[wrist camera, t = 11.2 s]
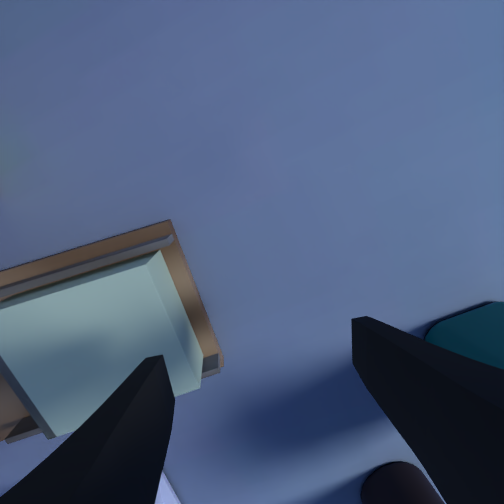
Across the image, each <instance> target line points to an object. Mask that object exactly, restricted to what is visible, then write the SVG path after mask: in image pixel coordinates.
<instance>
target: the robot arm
mask: <svg viewBox="0 0 504 504" xmlns="http://www.w3.org/2000/svg"><path fill="white" fill-rule="evenodd" d="M351 320H352V361H353V365H354V367H355V369H356V370H357V372H358V374H359V376H360V378H361V379H362V381H363V383H364V384H365V386H366V388H367V389H368V391H369V392H370V394H371V395H372V396H373V398H374V399H375V400H376V402H377V403H378V405H379V406H380V407H381V409H382V410H383V411H384V413H385V414H386V415H387V417H388V418H389V420H390V421H391V422H392V424H393V425H394V426H395V428H396V429H397V430H398V432H399V433H400V434H401V436H402V437H403V439H404V440H405V441H406V443H407V444H408V445H409V447H410V448H411V449H412V451H413V452H414V454H415V455H416V456H417V458H418V459H419V461H420V462H421V464H422V465H423V467H424V468H425V470H426V471H427V473H428V475H429V476H430V478H431V479H432V481H433V483H434V484H435V486H436V487H437V489H438V491H439V492H440V494H441V495H442V497H443V499H444V500H445V502H446V503H447V504H504V370H503V369H500V368H497V367H494V366H491V365H488V364H485V363H482V362H479V361H476V360H473V359H471V358H468V357H465V356H463V355H460V354H457V353H455V352H452V351H449V350H447V349H444V348H442V347H439V346H437V345H434V344H432V343H429V342H427V341H425V340H422V339H420V338H417V337H415V336H413V335H411V334H408V333H406V332H404V331H401V330H399V329H397V328H394V327H392V326H390V325H388V324H385V323H383V322H381V321H378V320H376V319H373V318H371V317H368V316H364V317H359V318H353V319H351ZM174 405H175V397H174V393H173V390H172V386H171V382H170V379H169V375H168V371H167V367H166V364H165V360H164V356H163V354H162V355H157V356H152V357H146V358H145V359H144V360H143V361H142V362H141V363H140V364H139V365H138V366H137V367H136V368H135V369H134V371H133V372H132V373H131V374H130V375H129V376H128V377H127V378H126V379H125V380H124V381H123V382H122V384H121V385H120V386H119V387H118V388H117V389H116V390H115V391H114V392H113V393H112V394H111V395H110V396H109V397H108V399H107V400H106V401H105V402H104V403H103V404H102V405H101V406H100V407H99V408H98V409H97V410H96V411H95V412H94V413H93V414H92V415H91V416H90V417H89V418H88V419H87V420H86V421H85V422H84V423H83V424H82V425H81V426H80V427H79V428H78V429H77V430H76V431H75V432H74V433H73V434H72V435H71V436H70V437H69V438H68V439H67V440H66V441H64V442H63V443H62V444H61V445H60V446H59V447H58V448H57V449H56V450H55V451H54V452H53V453H51V454H50V455H49V456H48V457H47V458H46V459H45V460H44V461H43V462H41V463H40V464H39V465H38V466H37V467H36V468H35V469H33V470H32V471H31V472H30V473H29V474H28V475H27V476H25V477H24V478H23V479H22V480H21V481H20V482H18V483H17V484H16V485H15V486H14V487H12V488H11V489H10V490H9V491H7V492H6V493H5V494H4V495H2V496H1V497H0V504H181V503H180V501H179V499H178V498H177V496H176V494H175V492H174V490H173V489H172V487H171V485H170V483H169V482H168V480H167V478H166V476H165V474H164V473H163V471H162V470H163V466H164V462H165V457H166V453H167V448H168V444H169V440H170V435H171V430H172V423H173V414H174Z"/></svg>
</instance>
